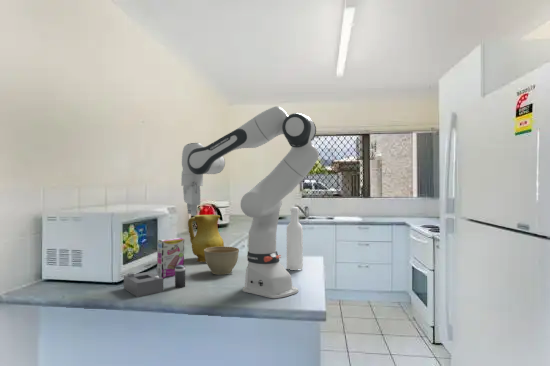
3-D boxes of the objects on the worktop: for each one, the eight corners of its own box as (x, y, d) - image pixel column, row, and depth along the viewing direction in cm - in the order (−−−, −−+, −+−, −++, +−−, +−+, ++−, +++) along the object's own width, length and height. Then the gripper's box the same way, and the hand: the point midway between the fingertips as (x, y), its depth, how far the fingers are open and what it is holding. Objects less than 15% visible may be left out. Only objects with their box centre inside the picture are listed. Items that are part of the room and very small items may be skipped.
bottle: (305, 268, 174) (305, 207, 174) (298, 271, 167) (298, 207, 167) (290, 266, 178) (290, 206, 178) (283, 269, 171) (283, 207, 171)
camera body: (163, 291, 137) (163, 275, 137) (137, 296, 130) (137, 280, 130) (148, 283, 147) (148, 269, 147) (123, 288, 140) (123, 273, 140)
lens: (187, 286, 143) (187, 266, 143) (177, 288, 141) (177, 267, 141) (182, 284, 146) (182, 264, 146) (173, 286, 144) (173, 265, 144)
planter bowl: (213, 279, 155) (213, 253, 155) (198, 271, 168) (198, 248, 168) (245, 273, 164) (245, 249, 164) (228, 267, 177) (228, 245, 177)
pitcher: (204, 264, 182) (204, 215, 183) (184, 260, 195) (184, 214, 196) (230, 260, 194) (230, 214, 196) (210, 257, 207) (209, 214, 209)
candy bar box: (162, 278, 155) (162, 241, 155) (156, 276, 159) (156, 239, 159) (184, 274, 163) (184, 238, 163) (178, 272, 167) (178, 237, 167)
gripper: (204, 182, 141) (204, 216, 141) (195, 181, 160) (195, 212, 160) (188, 181, 139) (187, 217, 139) (181, 181, 158) (180, 212, 158)
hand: (191, 214), depth 150 cm, fingers open, 8 cm apart
